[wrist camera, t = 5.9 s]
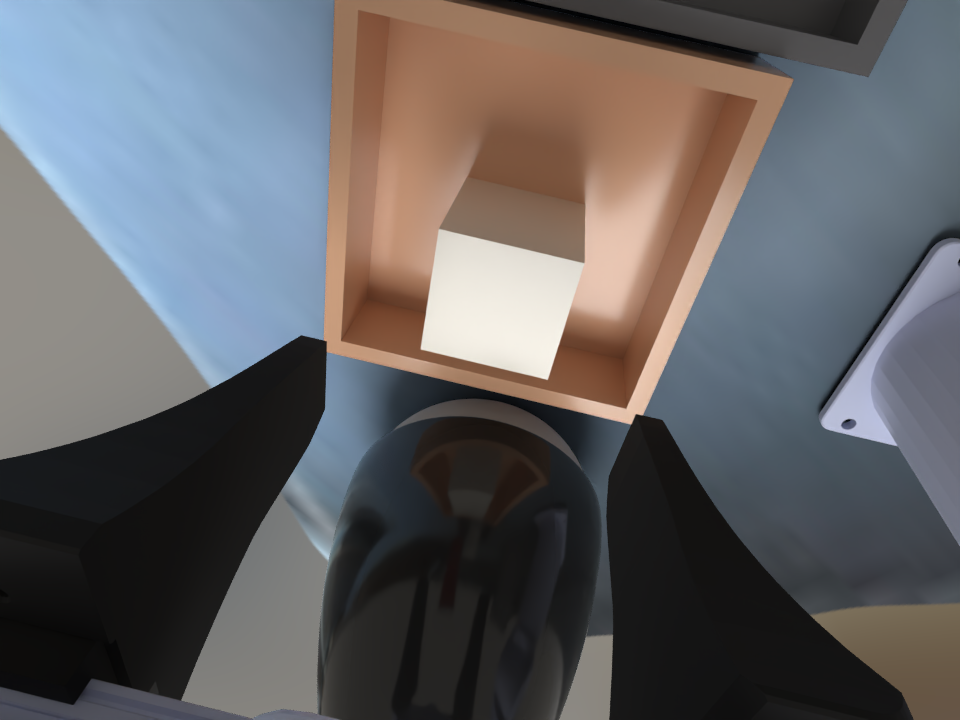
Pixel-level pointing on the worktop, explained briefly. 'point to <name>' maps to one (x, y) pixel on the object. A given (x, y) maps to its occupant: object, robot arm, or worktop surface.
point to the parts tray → (767, 25)
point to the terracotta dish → (534, 177)
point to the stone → (504, 277)
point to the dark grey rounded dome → (459, 571)
